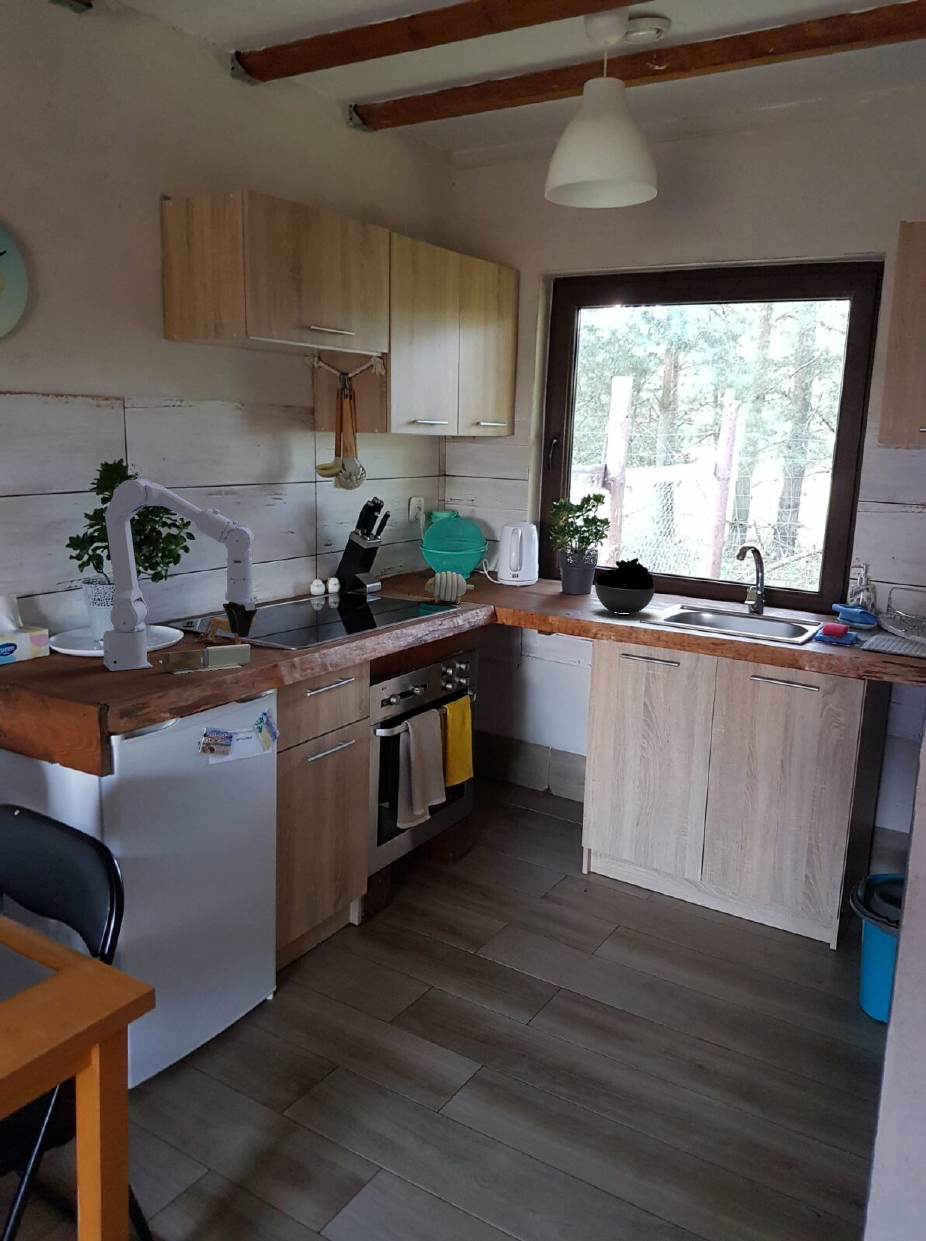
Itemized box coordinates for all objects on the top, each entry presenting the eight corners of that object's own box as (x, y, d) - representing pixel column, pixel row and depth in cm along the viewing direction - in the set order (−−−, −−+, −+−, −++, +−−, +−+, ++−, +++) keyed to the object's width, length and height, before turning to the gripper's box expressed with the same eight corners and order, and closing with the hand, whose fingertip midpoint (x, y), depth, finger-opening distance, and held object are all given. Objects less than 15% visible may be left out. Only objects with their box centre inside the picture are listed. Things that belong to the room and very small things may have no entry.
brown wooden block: (165, 673, 217) (164, 654, 217) (160, 669, 220) (160, 651, 220) (203, 669, 222) (203, 651, 221) (198, 666, 225) (198, 648, 224)
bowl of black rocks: (617, 621, 306) (621, 564, 302) (581, 610, 323) (585, 555, 320) (665, 618, 316) (670, 562, 312) (627, 607, 333) (632, 554, 329)
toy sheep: (422, 599, 330) (424, 568, 328) (470, 600, 332) (472, 569, 330) (425, 605, 320) (427, 573, 318) (475, 606, 322) (476, 574, 320)
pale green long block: (203, 667, 223) (203, 649, 222) (201, 665, 225) (201, 647, 224) (250, 662, 229) (250, 645, 229) (247, 661, 231) (247, 643, 230)
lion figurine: (256, 641, 255) (256, 608, 254) (252, 645, 250) (252, 612, 248) (201, 639, 255) (201, 606, 253) (196, 643, 249) (196, 610, 248)
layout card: (174, 674, 218) (174, 673, 218) (159, 661, 229) (159, 660, 229) (241, 667, 227) (241, 666, 227) (223, 655, 237) (223, 655, 237)
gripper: (267, 582, 217) (267, 639, 219) (245, 573, 229) (245, 627, 231) (237, 583, 213) (237, 642, 216) (216, 574, 225) (217, 629, 228)
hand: (239, 635), depth 223 cm, fingers open, 4 cm apart
